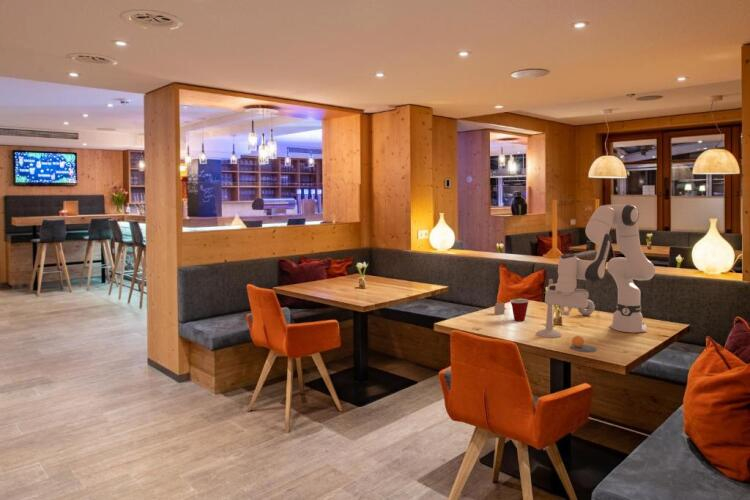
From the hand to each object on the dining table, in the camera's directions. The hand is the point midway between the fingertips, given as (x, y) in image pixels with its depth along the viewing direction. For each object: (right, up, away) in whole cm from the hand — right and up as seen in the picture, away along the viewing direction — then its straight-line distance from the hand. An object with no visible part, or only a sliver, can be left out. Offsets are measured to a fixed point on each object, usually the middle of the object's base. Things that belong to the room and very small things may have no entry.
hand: (565, 315), depth 272 cm
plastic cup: (-9, -9, +53) cm, 55 cm away
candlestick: (-2, -13, +21) cm, 25 cm away
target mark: (+7, -16, -4) cm, 18 cm away
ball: (+5, -13, -2) cm, 14 cm away
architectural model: (-17, -8, +69) cm, 72 cm away
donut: (+34, -8, +64) cm, 73 cm away
